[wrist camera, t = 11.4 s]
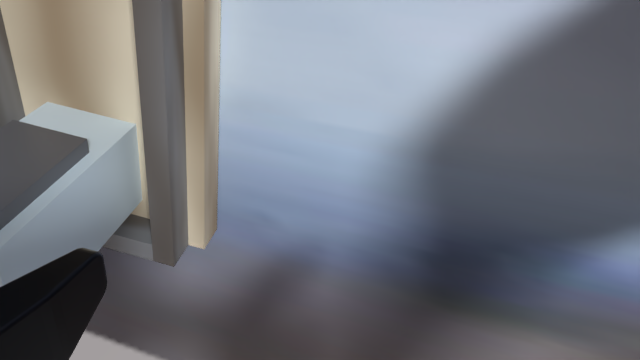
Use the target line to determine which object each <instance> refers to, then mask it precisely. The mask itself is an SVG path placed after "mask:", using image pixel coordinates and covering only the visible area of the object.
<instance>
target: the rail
mask: <svg viewBox="0 0 640 360" xmlns="http://www.w3.org/2000/svg"><path fill="white" fill-rule="evenodd" d="M220 25H221V0H0V128H1V127H3V126H4V125H6V124H7V123H9V122H10V121H12V120H16V121H19V120H21V119H22V118H24V117H25V116H27V115H28V114H30V113H31V112H33V111H34V110H36V109H37V108H39V107H40V106H42V105H43V104H45V103H46V102H50V103H54V104H58V105H62V106H66V107H70V108H74V109H78V110H82V111H86V112H90V113H94V114H98V115H102V116H106V117H110V118H114V119H118V120H122V121H126V122H130V123H134V124H136V128H137V140H138V152H139V164H140V176H141V188H142V201H141V202H140V203H139V205H138V206H137V207H136V208H135V209H134V210H133V212H132V213H131V214H130V215H129V216H128V217H127V219H126V220H125V221H124V222H123V223H122V224H121V225H120V227H119V228H118V229H117V230H116V231H115V232H114V234H113V235H112V236H111V237H110V238H109V239H108V241H107V242H106V243H105V244H104V245H103V246H102V247H105V248H108V249H112V250H116V251H119V252H123V253H126V254H130V255H134V256H137V257H141V258H144V259H148V260H152V261H155V262H159V263H162V264H166V265H170V266H173V267H174V266H175V264H176V263H177V261H178V260H179V258H180V257H181V255H182V254H183V252H184V251H185V249H186V248H187V246H188V245H191V246H194V247H198V248H202V249H205V247H206V246H207V244H208V243H209V241H210V239H211V238H212V236H213V235H214V233H215V231H216V230H217V193H218V137H219V81H220Z"/></svg>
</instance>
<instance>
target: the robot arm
mask: <svg viewBox="0 0 640 360" xmlns="http://www.w3.org/2000/svg"><path fill="white" fill-rule="evenodd" d="M106 287H107V277H106V271H105V265H104V259H103V255H102V254H101V253H100V252H98V251H94V250H90V249H87V248H78V249H75V250H73V251H71V252H69V253H67V254H65V255H63V256H61V257H59V258H57V259H55V260H53V261H51V262H49V263H47V264H45V265H43V266H41V267H39V268H37V269H35V270H33V271H31V272H29V273H27V274H25V275H23V276H21V277H19V278H17V279H15V280H13V281H11V282H9V283H7V284H5V285H3V286H1V287H0V360H69V358H70V356H71V355H72V353H73V351H74V349H75V347H76V345H77V343H78V342H79V340H80V338H81V336H82V334H83V332H84V331H85V329H86V327H87V325H88V323H89V321H90V319H91V317H92V316H93V314H94V312H95V310H96V308H97V306H98V304H99V303H100V301H101V299H102V297H103V295H104V293H105V290H106Z"/></svg>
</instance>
